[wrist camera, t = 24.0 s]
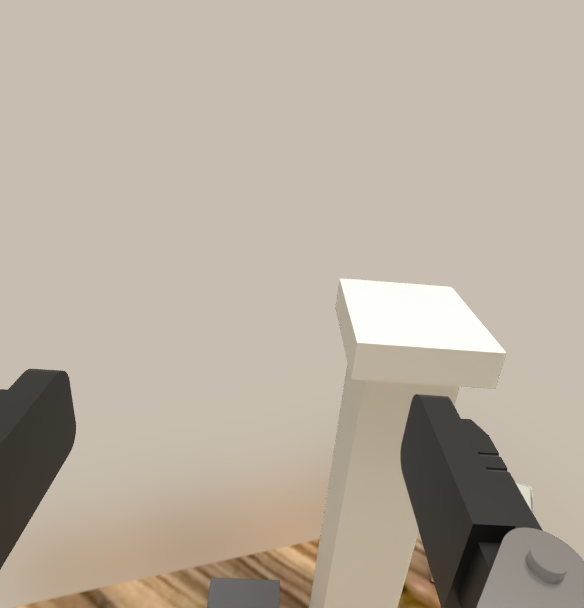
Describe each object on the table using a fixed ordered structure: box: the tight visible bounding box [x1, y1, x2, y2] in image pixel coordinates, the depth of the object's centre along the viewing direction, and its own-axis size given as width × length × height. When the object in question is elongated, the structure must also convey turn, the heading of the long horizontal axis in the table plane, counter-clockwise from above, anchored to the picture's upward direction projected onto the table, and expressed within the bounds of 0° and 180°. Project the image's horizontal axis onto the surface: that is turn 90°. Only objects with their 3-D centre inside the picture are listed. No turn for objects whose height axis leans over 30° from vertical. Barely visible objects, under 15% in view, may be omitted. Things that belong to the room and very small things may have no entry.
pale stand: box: [309, 279, 506, 608], centre depth 32 cm, size 8×7×33 cm
